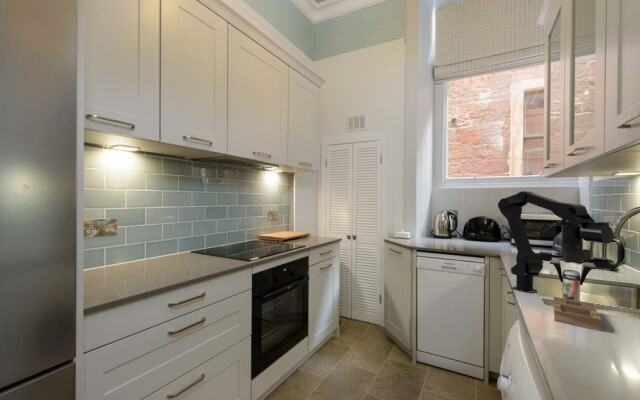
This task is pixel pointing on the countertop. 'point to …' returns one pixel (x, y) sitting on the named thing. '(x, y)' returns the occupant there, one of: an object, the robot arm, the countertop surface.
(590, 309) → the socket board
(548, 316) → the countertop surface
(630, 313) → the countertop surface
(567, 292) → the beer can
